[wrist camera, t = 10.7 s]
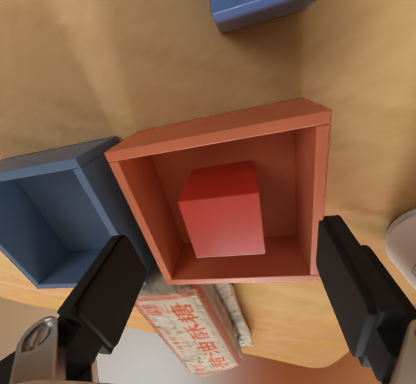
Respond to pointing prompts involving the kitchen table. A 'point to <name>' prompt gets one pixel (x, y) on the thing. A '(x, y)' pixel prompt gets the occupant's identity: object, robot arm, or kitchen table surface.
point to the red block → (223, 210)
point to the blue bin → (64, 213)
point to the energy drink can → (403, 245)
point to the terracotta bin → (226, 154)
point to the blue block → (252, 11)
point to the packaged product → (196, 322)
